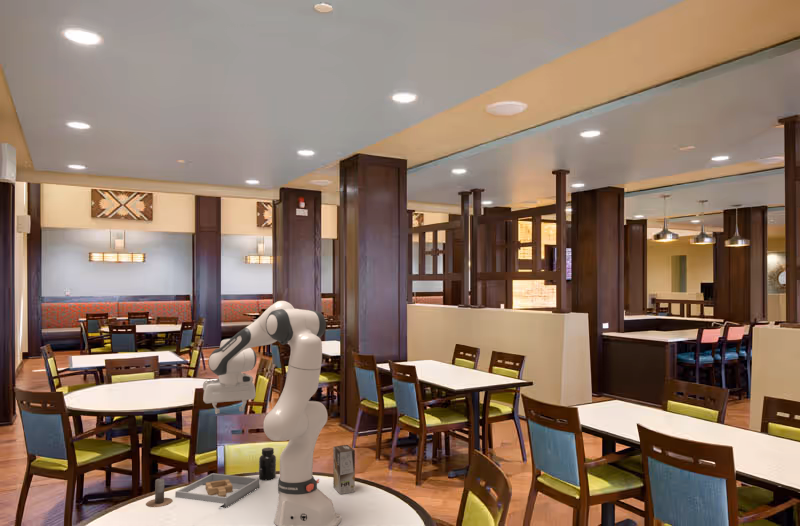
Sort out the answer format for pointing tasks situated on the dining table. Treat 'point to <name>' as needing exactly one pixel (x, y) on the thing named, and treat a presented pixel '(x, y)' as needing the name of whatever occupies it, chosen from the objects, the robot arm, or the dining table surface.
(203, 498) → the tray
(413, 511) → the dining table surface
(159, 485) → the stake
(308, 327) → the robot arm
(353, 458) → the coffee box
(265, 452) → the supplement bottle
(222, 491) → the tabbed frame
